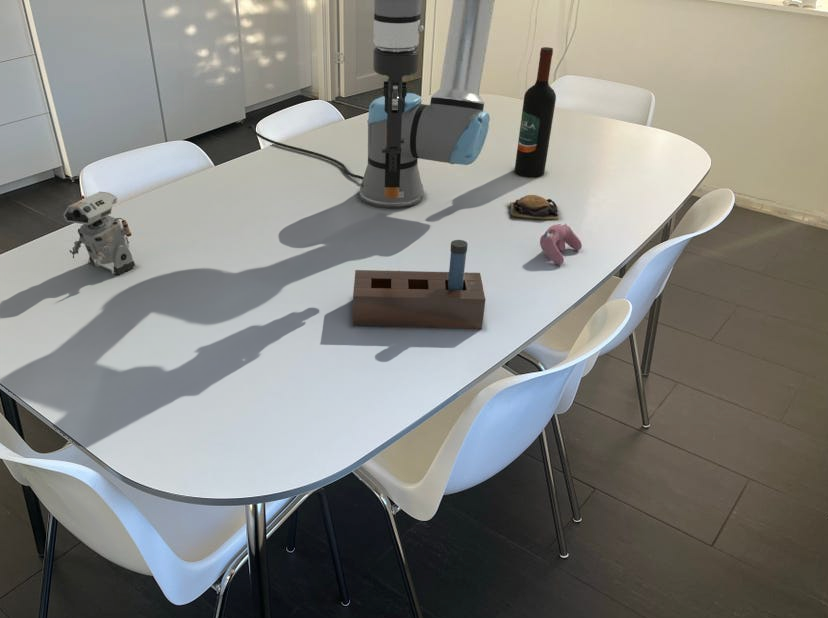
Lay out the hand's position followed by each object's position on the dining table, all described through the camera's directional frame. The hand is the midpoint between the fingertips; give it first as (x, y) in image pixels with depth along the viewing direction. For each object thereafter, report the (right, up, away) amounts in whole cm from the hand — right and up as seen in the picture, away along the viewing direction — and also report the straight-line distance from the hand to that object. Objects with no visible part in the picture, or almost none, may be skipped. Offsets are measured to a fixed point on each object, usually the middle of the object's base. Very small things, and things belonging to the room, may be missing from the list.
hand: (392, 182), depth 134 cm
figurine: (-57, -15, +11) cm, 60 cm away
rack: (+4, -24, -2) cm, 25 cm away
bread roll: (+34, +1, +34) cm, 48 cm away
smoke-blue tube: (+11, -24, -3) cm, 27 cm away
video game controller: (+35, -11, +17) cm, 40 cm away
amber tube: (0, -2, +2) cm, 3 cm away
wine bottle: (+38, +16, +54) cm, 68 cm away
